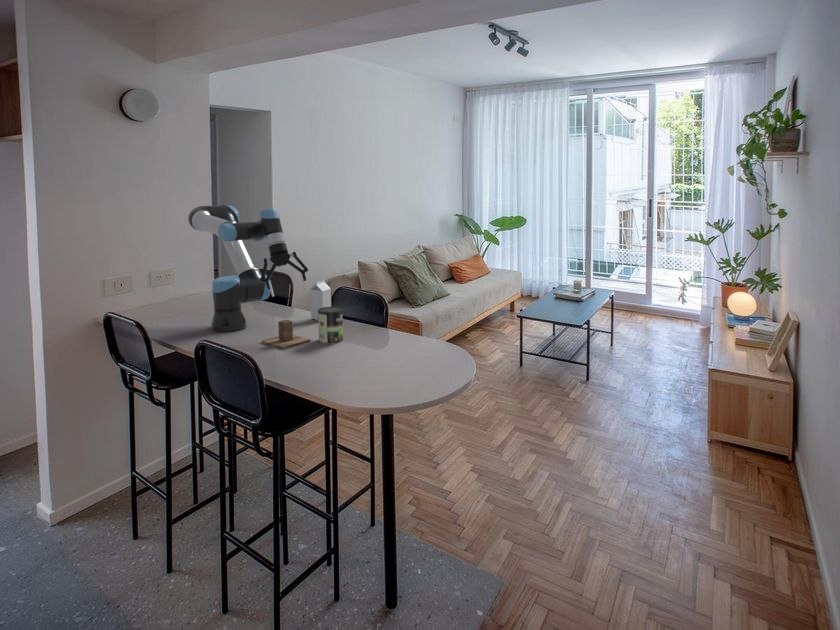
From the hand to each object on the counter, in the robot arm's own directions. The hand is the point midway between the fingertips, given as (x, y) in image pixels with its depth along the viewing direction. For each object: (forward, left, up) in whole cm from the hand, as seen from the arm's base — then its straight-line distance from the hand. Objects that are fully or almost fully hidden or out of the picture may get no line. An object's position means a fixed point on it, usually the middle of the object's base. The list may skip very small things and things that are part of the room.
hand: (289, 292), depth 234 cm
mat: (+7, -9, -19) cm, 22 cm away
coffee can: (+19, +5, -20) cm, 28 cm away
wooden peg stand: (+7, -9, -19) cm, 22 cm away
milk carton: (-13, +28, -20) cm, 37 cm away
